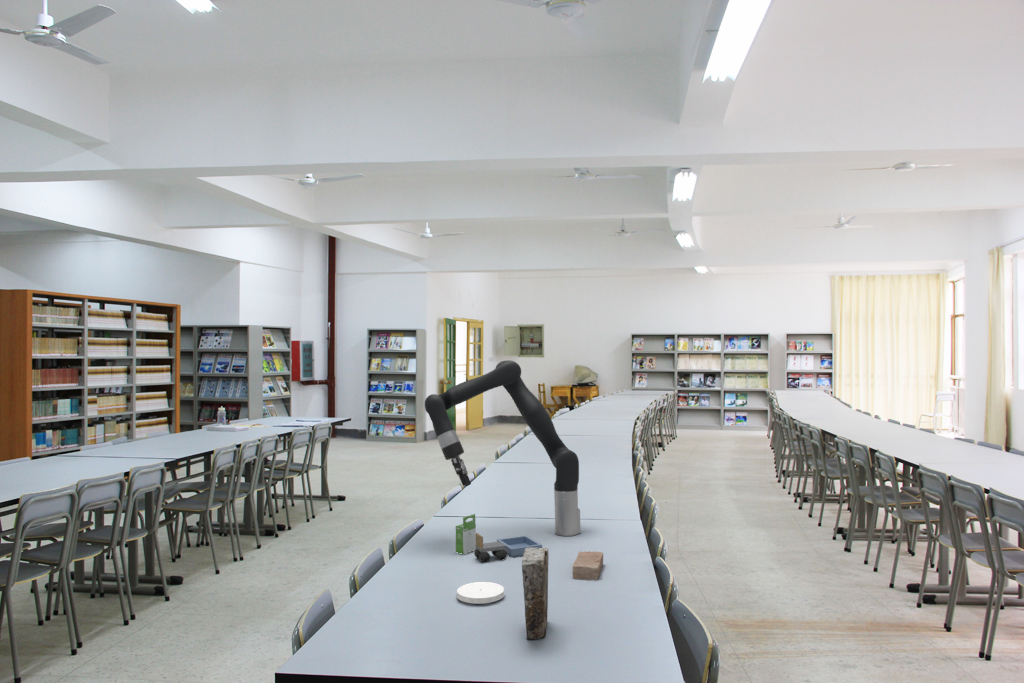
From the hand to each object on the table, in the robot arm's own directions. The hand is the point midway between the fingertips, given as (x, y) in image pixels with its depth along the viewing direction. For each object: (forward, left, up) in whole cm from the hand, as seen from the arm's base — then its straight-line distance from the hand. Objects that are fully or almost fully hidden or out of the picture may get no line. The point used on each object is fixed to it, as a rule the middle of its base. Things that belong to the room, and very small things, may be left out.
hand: (467, 485), depth 255 cm
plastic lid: (+13, +50, -24) cm, 57 cm away
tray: (-16, +11, -23) cm, 30 cm away
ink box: (+2, +4, -23) cm, 24 cm away
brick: (-27, +43, -24) cm, 56 cm away
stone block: (+8, +79, -23) cm, 83 cm away
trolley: (-3, +16, -23) cm, 28 cm away
